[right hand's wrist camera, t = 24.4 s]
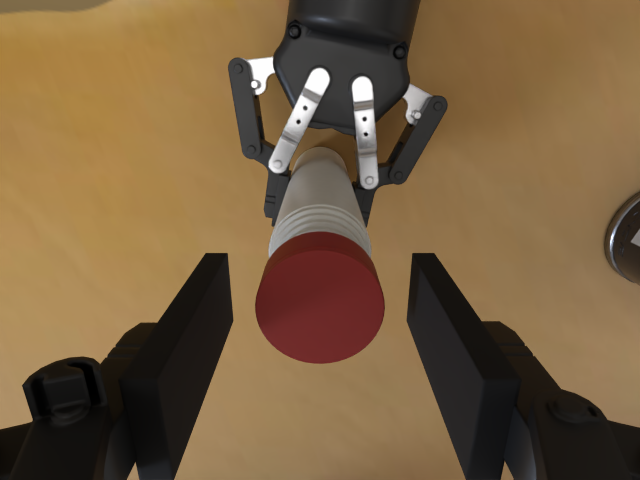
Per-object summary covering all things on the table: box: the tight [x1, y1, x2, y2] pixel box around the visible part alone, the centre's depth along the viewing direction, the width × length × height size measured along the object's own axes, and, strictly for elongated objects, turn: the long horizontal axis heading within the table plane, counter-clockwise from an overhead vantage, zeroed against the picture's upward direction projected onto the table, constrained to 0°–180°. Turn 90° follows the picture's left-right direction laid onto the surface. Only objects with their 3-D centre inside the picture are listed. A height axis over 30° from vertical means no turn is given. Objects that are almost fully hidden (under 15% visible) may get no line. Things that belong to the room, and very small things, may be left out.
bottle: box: [269, 147, 371, 258], centre depth 24 cm, size 4×4×22 cm
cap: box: [255, 231, 385, 364], centre depth 14 cm, size 4×4×2 cm
